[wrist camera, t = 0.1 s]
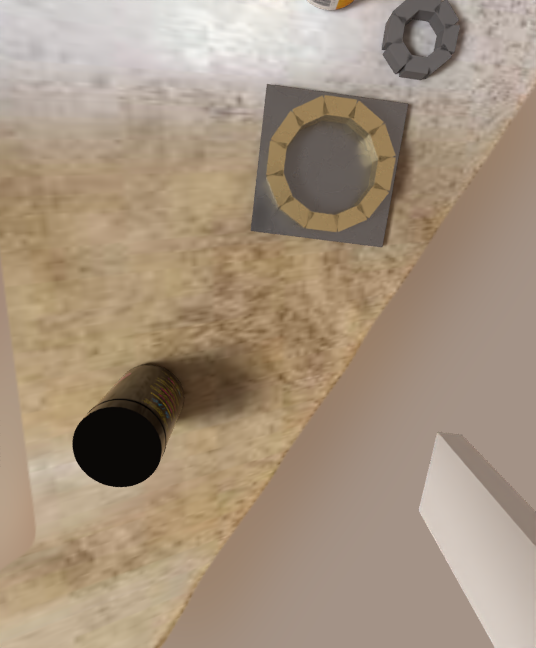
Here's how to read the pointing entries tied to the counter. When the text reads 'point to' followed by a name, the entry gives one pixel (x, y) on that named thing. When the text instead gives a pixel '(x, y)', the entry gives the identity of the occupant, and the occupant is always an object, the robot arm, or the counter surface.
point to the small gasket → (442, 18)
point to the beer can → (330, 4)
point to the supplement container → (129, 427)
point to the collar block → (326, 165)
